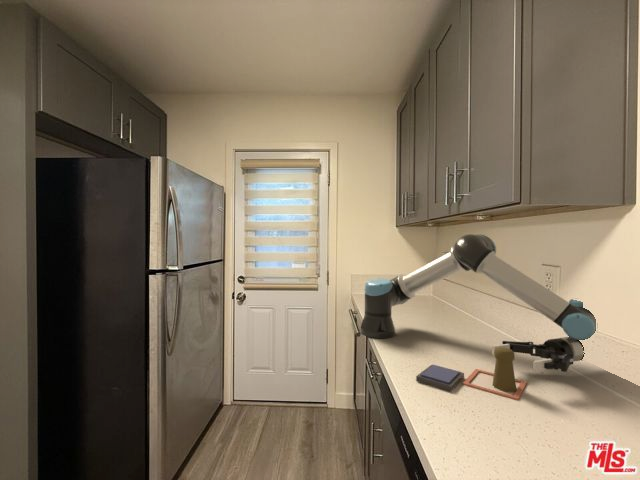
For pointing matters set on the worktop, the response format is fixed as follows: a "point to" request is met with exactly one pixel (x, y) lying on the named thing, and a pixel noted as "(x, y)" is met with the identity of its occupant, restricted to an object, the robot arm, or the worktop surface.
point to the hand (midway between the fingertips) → (512, 357)
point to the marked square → (516, 396)
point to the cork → (504, 370)
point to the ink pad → (440, 377)
